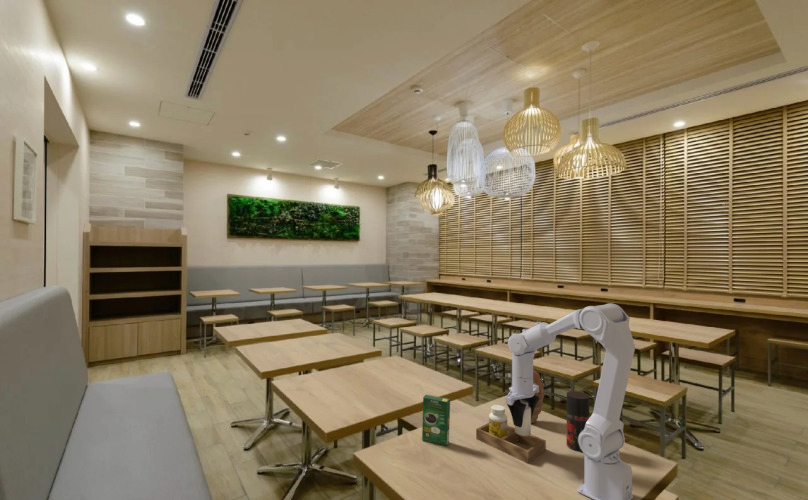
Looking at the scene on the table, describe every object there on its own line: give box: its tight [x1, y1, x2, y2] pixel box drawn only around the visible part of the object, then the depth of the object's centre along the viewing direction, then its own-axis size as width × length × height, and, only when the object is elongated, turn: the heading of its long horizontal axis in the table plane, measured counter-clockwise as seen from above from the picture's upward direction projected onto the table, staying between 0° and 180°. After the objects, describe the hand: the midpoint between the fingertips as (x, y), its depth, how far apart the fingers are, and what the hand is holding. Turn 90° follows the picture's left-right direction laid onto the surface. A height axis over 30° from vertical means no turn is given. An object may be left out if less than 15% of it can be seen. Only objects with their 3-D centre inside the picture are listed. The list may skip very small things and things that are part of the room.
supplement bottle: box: [488, 404, 508, 438], centre depth 112 cm, size 5×5×10 cm
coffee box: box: [421, 394, 451, 446], centre depth 111 cm, size 8×3×13 cm, turn 67°
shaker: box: [514, 400, 532, 436], centre depth 106 cm, size 4×4×8 cm
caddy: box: [475, 422, 547, 464], centre depth 109 cm, size 17×10×3 cm, turn 41°
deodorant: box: [566, 390, 590, 453], centre depth 108 cm, size 6×6×15 cm
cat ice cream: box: [531, 367, 545, 424], centre depth 124 cm, size 9×8×18 cm
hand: (522, 423), depth 106 cm, fingers closed on shaker, 4 cm apart
